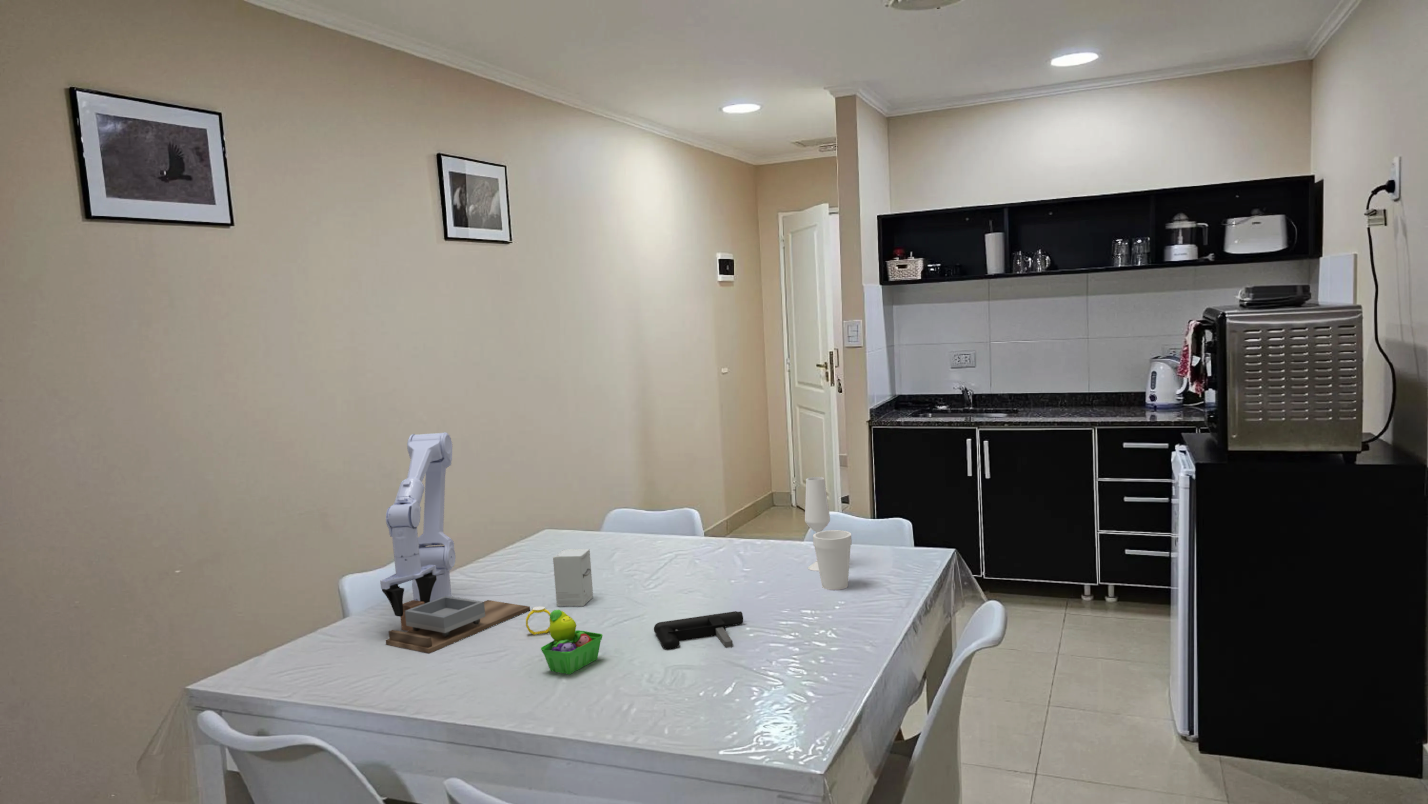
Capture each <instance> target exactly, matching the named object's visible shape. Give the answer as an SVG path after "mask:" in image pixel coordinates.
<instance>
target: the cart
mask: <svg viewBox="0 0 1428 804" xmlns="http://www.w3.org/2000/svg"><path fill="white" fill-rule="evenodd" d="M405 617H406V626H410V627H413V630H414V631H419V630H420V628H421V629H426V630H432V631H437V632H442V635H443V636H444V637H448V636H449V635H450V631H451V630H454V629H456V628H458V627H461V626H463V625H466V624H468V623H471V622H473V623H474V624H479V622H480V618H483V617H485V607H484V601H481V600H474V599H470V598H469V599H468V598H463V597H455V596H452V597H450V596H444V597H441V598H439V599H436V600H433V601H430V602H428V603H425V604H422V605H419V606H417V607H414V608H411V609H409V610H406V611H405Z"/></svg>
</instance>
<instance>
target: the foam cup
mask: <svg viewBox="0 0 1428 804" xmlns="http://www.w3.org/2000/svg"><path fill="white" fill-rule="evenodd" d="M812 540H813V541H812V542H813V547H814V552H815V556H816V561H817V562H818V567H819V571H818V572H819V576H820V582H821V586H822V588H823V589H824V590H827V591H828V590H829V591H839V590H844V589H846V588H848V585H849V574H850V573H849V572H850V559H851V548H852V547H851V546H852V540H853V539H852V533H851V532H850V531H847V530H837V529H831V530H822V531H821V532H817V533H816V532H815V533H813V535H812Z"/></svg>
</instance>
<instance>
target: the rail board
mask: <svg viewBox="0 0 1428 804" xmlns="http://www.w3.org/2000/svg"><path fill="white" fill-rule="evenodd" d="M483 602H484V607H485V617H483V618H480V622H479V624H474V623H473V622H471V623H468V624H466V625H463V626H461V627H458V628H456V629H454V630H451V631H450V635H449V636H448V637H444V636H443V635H442V632H437V631H432V630H426V629H421V628H420V630H419V631H414V630H410V631H402V630H400V631H399V630H395V629H391V630H388V636H389V638H387V639H386V640H385V645H387V646H393V647H395V648H396V647H397V648H401V649H402V648H403V649H407V650H411V651H416V652H421V653H425V654H432V653H433V652H436V651H438V650H440V649H443V648H445V646H446V647H448V646H450V645H453V644H455V643H457V642H459V640H460V641H461V639H462V640H464V639H466V637H467V638H469V637H470V635H471V636H474V635H476V634H479V633H481V632H483V631H485V630H484V629H486V628H488V629H489V627H490V628H492V627H491V626H493V625H495V626H497V625H499V624H498V623H500V622H502V623H504V622H506V620H507V621H508V619H509V620H511V619H513V618H512V617H514V616H516V615H518V616H520V614H521V615H523V614H526V613H527V612H526V611H528V612H530V611H531V607H530V606H529V605H522V604H516V603H510V602H504V601H503V602H502V601H497V600H490V599H487V600H484V601H483ZM529 610H530V611H529ZM522 613H523V614H522ZM516 617H517V616H516ZM510 618H511V619H510ZM514 618H515V617H514ZM503 621H504V622H503ZM496 624H497V625H496ZM500 624H501V623H500ZM493 627H494V626H493ZM482 630H483V631H482ZM486 630H487V629H486ZM480 631H481V632H480ZM478 632H479V633H478ZM473 634H474V635H473ZM468 636H469V637H468ZM463 638H464V639H463ZM454 642H455V643H454ZM447 645H448V646H447Z"/></svg>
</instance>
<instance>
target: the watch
mask: <svg viewBox="0 0 1428 804" xmlns="http://www.w3.org/2000/svg"><path fill="white" fill-rule="evenodd" d="M543 612H544V613H546V614H547V615H548V616H549V617H550V614H551V612H550V611H549V610H548V609H546V607H545V606H534V607H533V608H532V610H530V611H529V613H527V615H526V618H525V626H526V627H525V628H526V629H527V631H528V632H529V633H530V634H532V636H533V635H534V636H536V634H537V635H543V633H545V634H548V633H550V631H549V627H550V625H549V627H547V629H545V630H538V631H534V630H532V628H530V626H529V622H528V621H529V619H530V617H531V616H532V615H533V614H535V613H536V614H539V613H543Z"/></svg>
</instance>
